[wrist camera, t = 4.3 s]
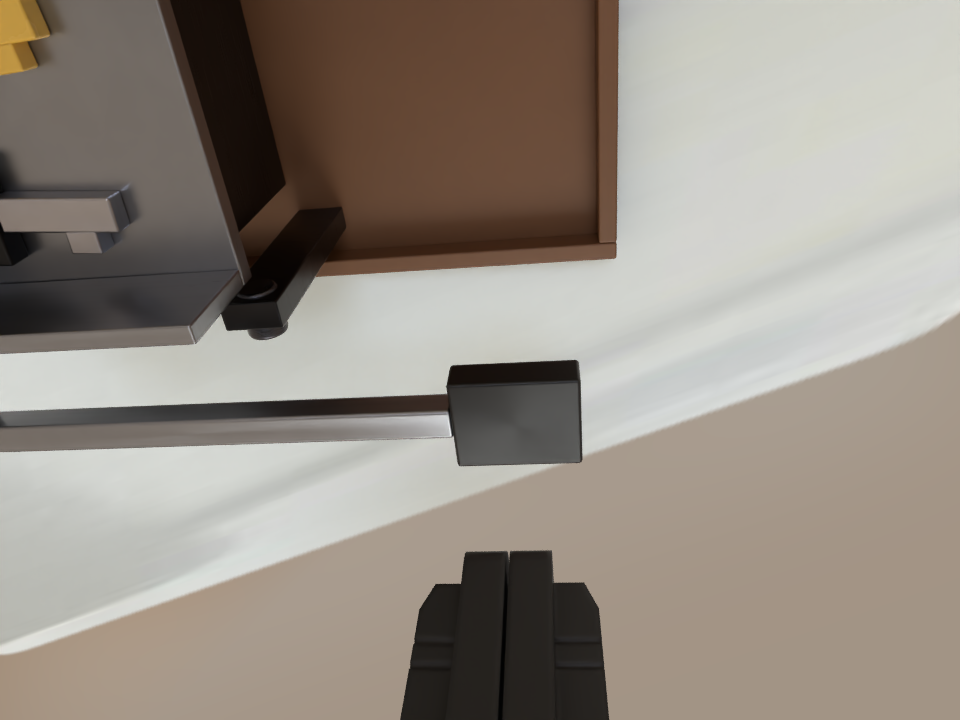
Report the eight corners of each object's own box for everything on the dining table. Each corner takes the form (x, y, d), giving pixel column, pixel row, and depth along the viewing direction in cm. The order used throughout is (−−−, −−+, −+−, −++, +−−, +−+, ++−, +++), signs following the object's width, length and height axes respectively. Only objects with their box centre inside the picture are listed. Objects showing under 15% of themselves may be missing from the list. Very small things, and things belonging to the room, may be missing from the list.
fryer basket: (-263, -82, 15) (-480, -85, 12) (559, -192, 13) (567, -231, 10) (8, 401, 21) (-83, 482, 18) (575, 378, 19) (582, 464, 16)
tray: (-112, -183, 19) (-157, -191, 18) (615, -290, 17) (621, -307, 16) (88, 275, 27) (66, 292, 25) (612, 242, 25) (616, 259, 23)
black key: (-96, 156, 17) (-119, 164, 16) (110, 154, 16) (93, 163, 16) (-49, 255, 18) (-69, 267, 17) (141, 256, 18) (127, 267, 17)
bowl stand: (-63, -152, 19) (-347, -192, 13) (258, -197, 18) (115, -263, 12) (106, 257, 26) (-30, 360, 19) (349, 241, 25) (288, 344, 18)
